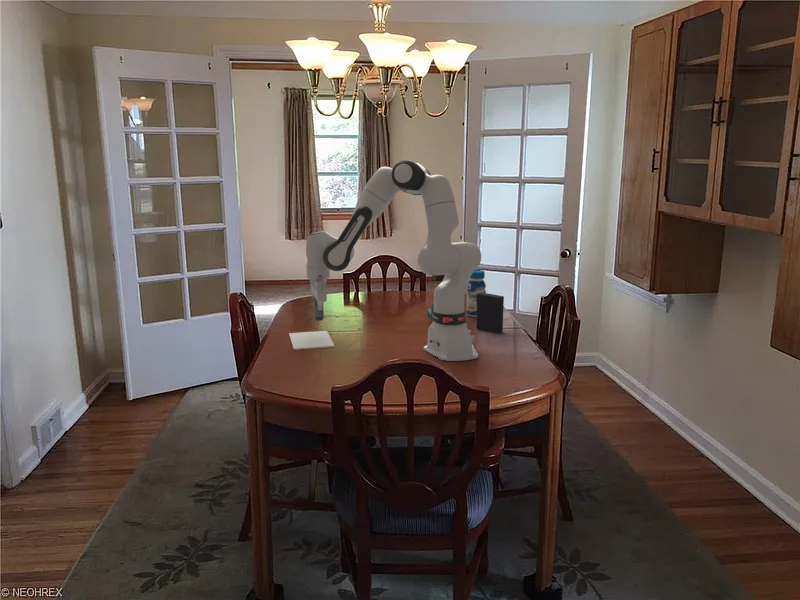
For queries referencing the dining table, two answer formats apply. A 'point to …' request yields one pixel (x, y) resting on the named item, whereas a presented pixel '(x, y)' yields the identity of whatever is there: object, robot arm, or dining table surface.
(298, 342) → the paper
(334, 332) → the dining table surface
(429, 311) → the bracket
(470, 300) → the beverage bottle
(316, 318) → the marker
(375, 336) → the dining table surface
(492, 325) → the upright charcoal panel
